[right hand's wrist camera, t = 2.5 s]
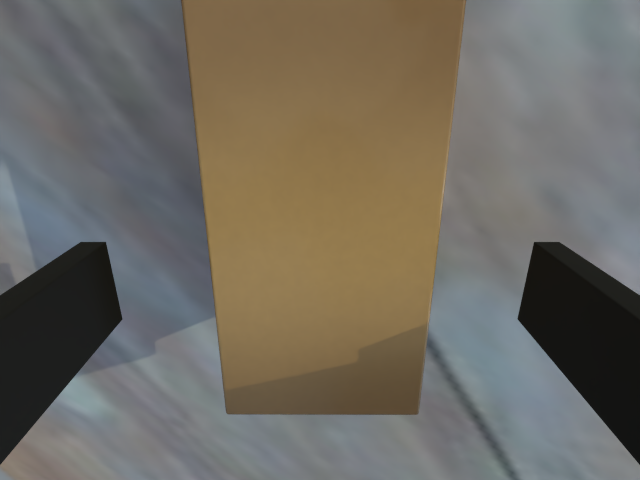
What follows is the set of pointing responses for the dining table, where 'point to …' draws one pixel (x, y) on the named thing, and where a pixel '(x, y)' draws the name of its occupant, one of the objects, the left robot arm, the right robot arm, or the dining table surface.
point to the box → (323, 193)
